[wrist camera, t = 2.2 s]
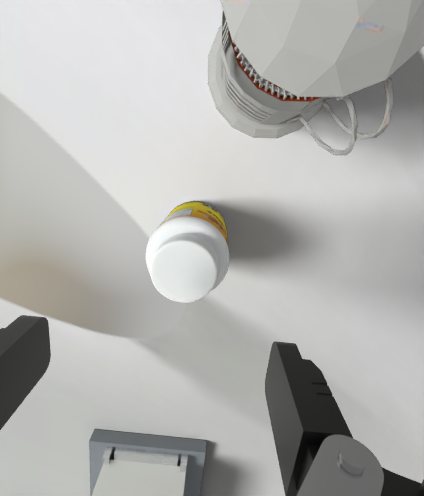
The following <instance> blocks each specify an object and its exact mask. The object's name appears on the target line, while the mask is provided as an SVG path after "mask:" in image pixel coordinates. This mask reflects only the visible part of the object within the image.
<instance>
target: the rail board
mask: <svg viewBox="0 0 424 496" xmlns="http://www.w3.org/2000/svg"><path fill="white" fill-rule="evenodd" d="M107 446H110V447H113V460H114V452H115V449H116V447H120V448H130V449H140V450H150V451H160V452H170V453H179V455H178V465H177V466H180V464H181V456H182V454H188V459H187V468H186V477H185V486H184V495H183V496H200V490H201V483H202V476H203V469H204V461H205V454H206V440H198V439H188V438H178V437H168V436H158V435H148V434H138V433H128V432H118V431H109V430H99V429H95V430H94V432H93V434H92V436H91V438H90V441H89V448H90V489H91V496H92V493H93V490H94V487H95V485H96V482H97V479H98V477H99V474H100V471H101V469H102V466H103V455H104V452H105V450H106V447H107Z"/></svg>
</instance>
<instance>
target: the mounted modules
mask: <svg viewBox="0 0 424 496" xmlns="http://www.w3.org/2000/svg"><path fill="white" fill-rule="evenodd" d="M185 473H186V472H180V466H172V465H162V464H152V463H141V462H131V461H121V460H111V461H110V464H109V465H105V464H103V466H102V469H101V471H100V474H99V477H98V479H97V482H96V485H95V487H94V490H93V493H92V496H183V493H184V483H185Z"/></svg>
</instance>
